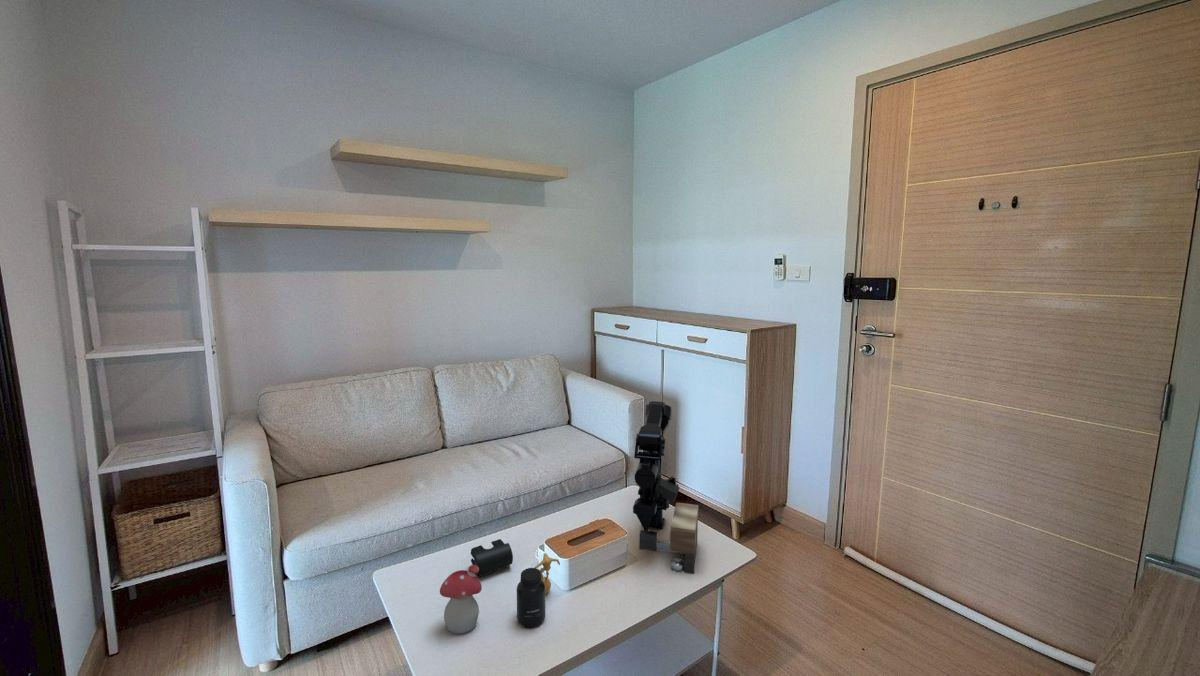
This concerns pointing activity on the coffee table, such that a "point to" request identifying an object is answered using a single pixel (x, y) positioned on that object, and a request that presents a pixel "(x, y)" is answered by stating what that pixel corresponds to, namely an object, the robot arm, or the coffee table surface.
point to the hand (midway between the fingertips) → (648, 522)
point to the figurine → (546, 567)
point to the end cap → (492, 557)
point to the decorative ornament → (461, 600)
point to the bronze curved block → (685, 533)
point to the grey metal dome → (677, 565)
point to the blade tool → (653, 542)
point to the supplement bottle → (530, 598)
